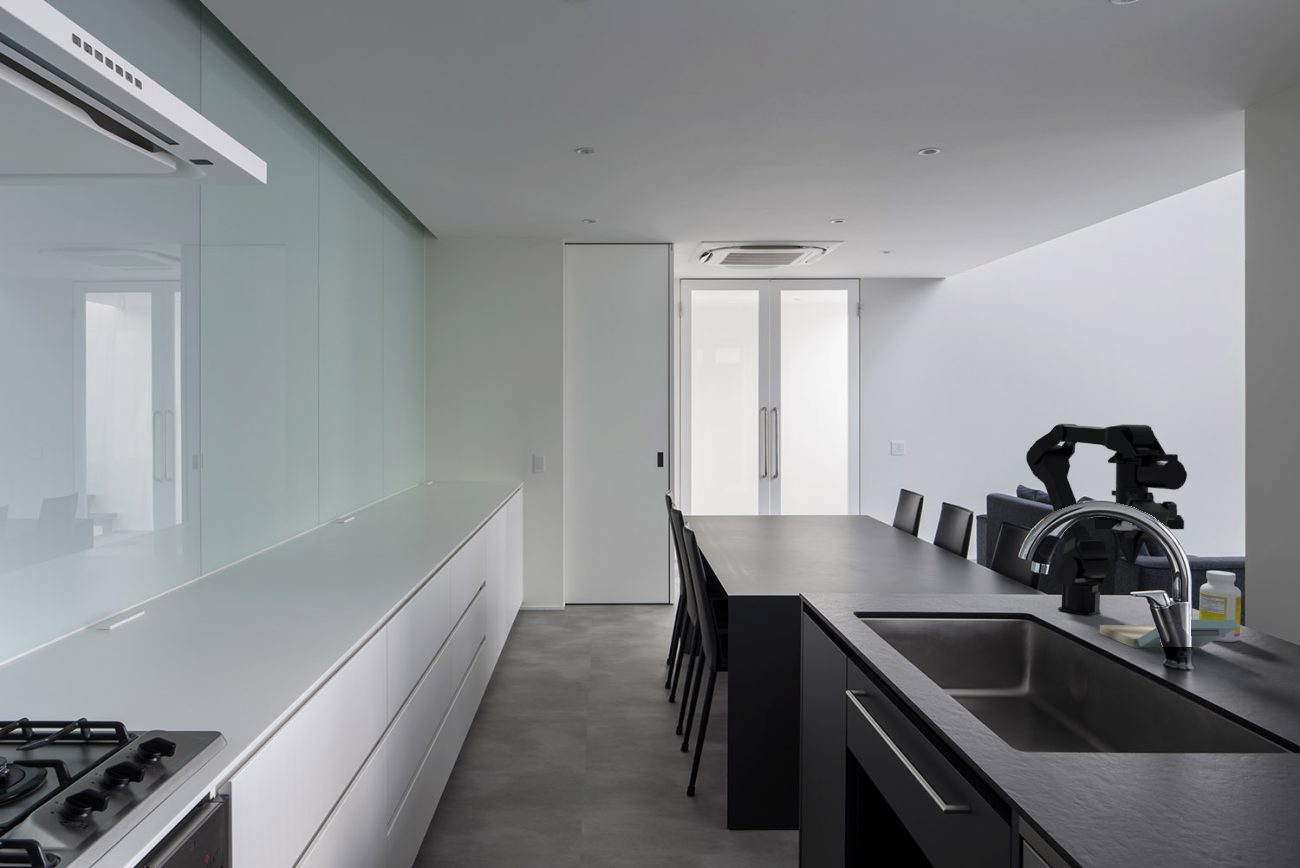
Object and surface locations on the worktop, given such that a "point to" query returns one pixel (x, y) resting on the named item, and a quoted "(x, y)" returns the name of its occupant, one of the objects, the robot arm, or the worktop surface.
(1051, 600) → the worktop surface
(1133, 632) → the plate
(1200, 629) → the panel
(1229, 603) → the supplement bottle
